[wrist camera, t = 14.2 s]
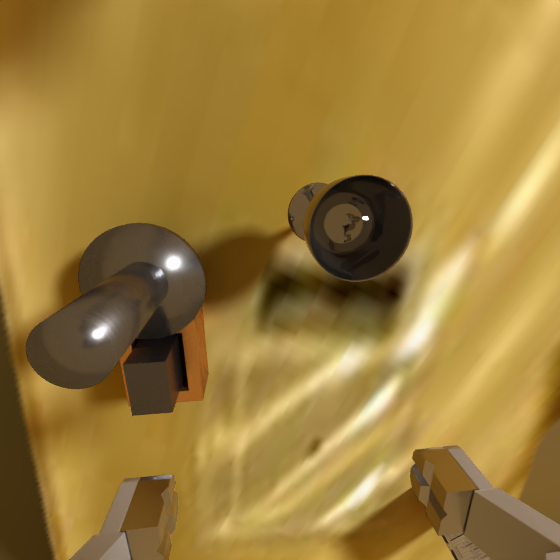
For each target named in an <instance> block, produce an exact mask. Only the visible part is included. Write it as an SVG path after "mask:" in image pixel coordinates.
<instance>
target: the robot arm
mask: <svg viewBox="0 0 560 560" xmlns="http://www.w3.org/2000/svg"><path fill="white" fill-rule="evenodd" d="M412 459H413V460H414V462H415V464H414V465H413V466H412V468H411V471H410V479H411V484H412V487H413V490H414V493H415V494H416V496H417V498H418V500H419V501H420V502H422V503H423V504H424V505H426V506H427V509H426V515H427V517H428V518H429V520H430V522H431V524H432V526H433V527H434V529H435V531H436V533H437V535H438V536H442V535H453V534H463V533H464V536H466V537H467V538H468V539H469V540H470V541H471V542H472V543H473V544H475V545H476V546H477V547H478V548H479V549H480V550H481V551H482V552H483V553H485V554H486V555H487V556H488V557H489V558H490V559H491V560H560V525H559V524H557V523H555V522H554V521H552V520H551V519H549V518H547V517H546V516H544V515H542V514H541V513H539V512H537V511H536V510H534V509H532V508H531V507H529V506H528V505H526V504H524V503H523V502H521V501H519V500H518V499H516V498H514V497H513V496H511V495H510V494H508V493H506V492H505V491H503V490H501V489H500V488H494V487H493V486H492V485H491V484H490V482H489V481H488V480H487V479H486V478H485V476H484V475H483V474H482V473H481V472H480V470H479V469H478V468H477V467H476V466H475V464H474V463H473V462H472V461H471V459H470V458H469V457H468V456H467V455H466V453H465V452H464V451H463V450H462V449H461V448H460V447H459V446H457V445H455V446H445V447H434V448H426V449H417V450H415V451H414V452H413V457H412ZM175 484H176V482H175V476H174V475H164V476H150V477H139V478H127V479H124V480H123V482H122V483H121V485H120V487H119V489H118V492H117V494H116V496H115V499H114V501H113V503H112V506H111V508H110V510H109V513H108V515H107V517H106V520H105V522H104V524H103V527H102V529H101V531H100V534H99V535H94V536H93V537H92V538H91V539H90V540H89V541H88V542H87V543H86V544H85V545H84V546H83V547H82V548H81V549H80V550H79V551H78V552H77V553H76V554H75V555H74V556H73V557H72V558H71V559H70V560H169V556H170V551H171V546H172V544H171V538H170V535H171V533H172V532H173V531H174V530H175V527H176V522H177V515H178V495H177V493H176V492H175V491H174V488H175Z"/></svg>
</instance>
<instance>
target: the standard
mask: <svg viewBox="0 0 560 560" xmlns="http://www.w3.org/2000/svg"><path fill="white" fill-rule="evenodd" d="M78 281H79V287H80V291H81V294H82V296H80V297H79V298H77V299H76V300H74V301H73V302H71V303H70V304H68V305H67V306H65V307H64V308H62V309H61V310H59V311H58V312H56V313H55V314H53V315H52V316H50V317H49V318H47V319H46V320H44V321H43V322H41V323H40V324H38V325H37V326H36V327H35V328H34V329H33V330H32V331H31V333H30V334H29V336H28V339H27V342H26V354H27V358H28V361H29V363H30V365H31V366H32V368H33V369H34V370H35V371H36V373H37V374H38V375H40V376H41V377H42V378H43V379H45V380H46V381H48V382H50V383H52V384H54V385H56V386H60V387H63V388H68V389H83V388H88V387H92V386H94V385H96V384H98V383H100V382H101V381H103V380H104V379H105V378H106V377H107V376H108V375H109V374H110V372H111V371H112V370H113V368H114V367H115V365H116V364H117V363H118V361H119V360H120V364H121V369H122V375H123V380H124V385H125V390H126V395H127V401H128V406H130V401H129V395H128V390H127V385H126V380H125V374H124V369H123V363H124V362H125V360H126V359H127V357H128V356H129V355H130V353H131V352H132V350H133V349H134V347H135V346H136V345H137V343H138V342H139V340H140V339H158V338H163V337H167V336H170V335H172V334H175V333H182V336H183V345H184V353H185V362H186V373H185V376H184V379H183V382H182V385H181V388H180V391H179V394H178V397H177V400H176V402H188V401H201V400H203V398H204V393H205V388H206V383H207V378H208V363H207V352H206V342H205V331H204V320H203V310H202V303H203V301H204V297H205V293H206V275H205V271H204V267H203V265H202V262H201V260H200V258H199V256H198V255H197V253H196V252H195V250H194V249H193V248H192V247H191V245H190V244H189V243H187V242H186V241H185V240H184V239H183V238H182V237H180V236H179V235H178V234H176V233H174V232H172V231H171V230H168V229H166V228H164V227H161V226H157V225H154V224H148V223H131V224H126V225H121V226H118V227H115V228H112V229H110V230H108V231H106V232H104V233H102V234H101V235H99V236H98V237H97V238H95V240H94V241H93V242H92V243H91V244H90V245H89V246H88V248H87V249H86V250H85V252H84V254H83V256H82V259H81V262H80V265H79V272H78Z"/></svg>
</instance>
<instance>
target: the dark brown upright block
mask: <svg viewBox="0 0 560 560" xmlns="http://www.w3.org/2000/svg"><path fill="white" fill-rule="evenodd" d="M123 369H124V374H125V380H126V385H127V390H128V395H129V401H130V406H131V411H132V416H134V415H146V414H158V413H171V412H173V410H174V407H175V404H176V400H177V397H178V394H179V391H180V388H181V385H182V382H183V379H184V376H185V373H186V362H185V353H184V345H183V336H182V333H175V334H172V335H170V336H167V337H163V338H158V339H140V340H139V342H138V343H137V345H136V346H135V347H134V349H133V350H132V352H131V353H130V355H129V356H128V357H127V359H126V360H125V362H124V363H123Z"/></svg>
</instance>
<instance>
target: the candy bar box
mask: <svg viewBox="0 0 560 560" xmlns="http://www.w3.org/2000/svg"><path fill="white" fill-rule="evenodd" d="M424 506H425V507H426V509H427V506H426V505H424ZM442 537H443V539H444V541H445V543H446V544H447V546H448V548H449V550H450V551H451V553H452V555H453V557H454V558H455V560H491V559H490V558H489V557H488V556H487V555H486V554H485V553H483V552H482V551H481V550H480V549H479V548H478V547H477V546H476V545H475V544H473V543H472V542H471V541H470V540H469V539H468V538H467V537H466V536H464V533H463V534H453V535H442Z"/></svg>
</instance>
